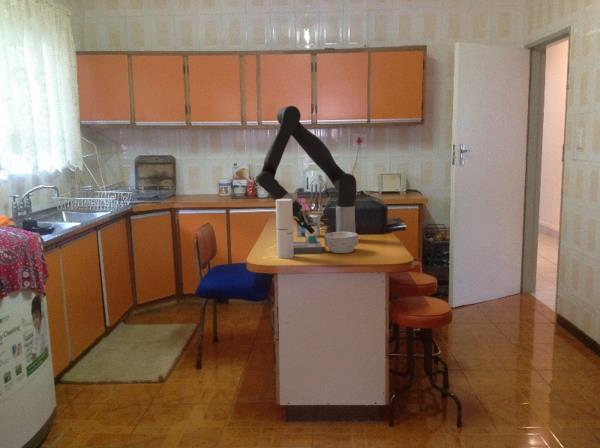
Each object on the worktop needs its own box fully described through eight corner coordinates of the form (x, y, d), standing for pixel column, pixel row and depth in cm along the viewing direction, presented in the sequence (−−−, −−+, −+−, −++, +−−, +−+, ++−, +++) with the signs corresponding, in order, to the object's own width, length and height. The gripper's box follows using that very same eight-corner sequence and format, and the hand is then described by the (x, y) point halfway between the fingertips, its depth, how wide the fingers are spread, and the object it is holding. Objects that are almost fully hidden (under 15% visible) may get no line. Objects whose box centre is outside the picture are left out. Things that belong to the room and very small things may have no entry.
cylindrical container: (277, 254, 242) (275, 199, 238) (293, 254, 243) (291, 198, 238) (277, 258, 235) (276, 201, 231) (294, 258, 236) (292, 200, 231)
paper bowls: (324, 248, 254) (324, 231, 253) (357, 247, 254) (356, 230, 253) (324, 255, 239) (324, 237, 238) (359, 255, 239) (359, 237, 238)
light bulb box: (296, 236, 283) (296, 216, 281) (301, 234, 289) (301, 214, 287) (315, 237, 279) (315, 216, 277) (320, 235, 285) (320, 214, 283)
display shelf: (320, 246, 257) (320, 238, 257) (321, 252, 244) (321, 244, 244) (284, 247, 257) (284, 239, 257) (283, 253, 244) (283, 244, 244)
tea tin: (306, 243, 253) (305, 222, 251) (318, 243, 253) (317, 221, 251) (306, 246, 247) (305, 224, 245) (318, 245, 247) (317, 224, 245)
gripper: (291, 201, 241) (317, 228, 240) (299, 197, 255) (324, 222, 254) (280, 213, 243) (305, 239, 242) (288, 208, 257) (313, 233, 256)
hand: (315, 230), depth 248 cm, fingers open, 7 cm apart
